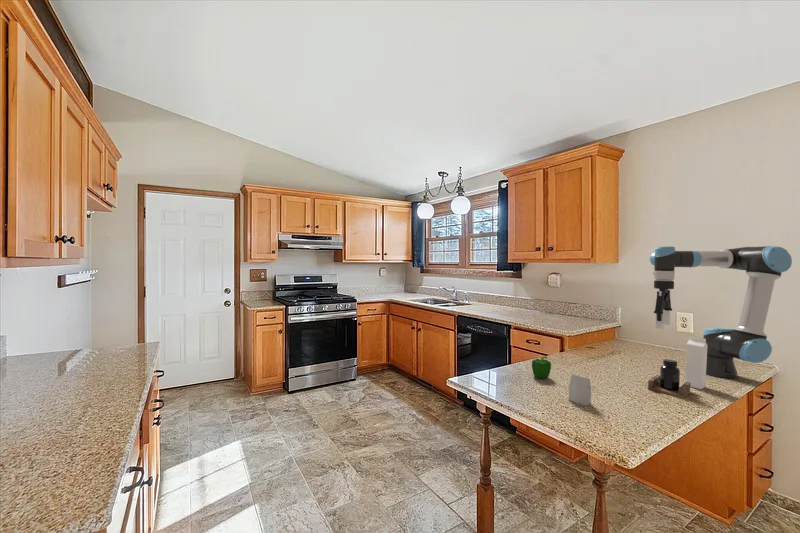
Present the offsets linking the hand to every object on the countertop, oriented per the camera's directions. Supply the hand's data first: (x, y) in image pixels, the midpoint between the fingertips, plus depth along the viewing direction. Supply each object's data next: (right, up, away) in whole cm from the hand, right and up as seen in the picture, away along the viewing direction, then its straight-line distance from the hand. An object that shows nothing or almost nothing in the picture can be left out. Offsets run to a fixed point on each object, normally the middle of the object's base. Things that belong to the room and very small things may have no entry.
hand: (662, 326), depth 168 cm
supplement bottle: (-5, -25, -11) cm, 28 cm away
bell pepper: (-55, -24, +2) cm, 60 cm away
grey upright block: (-51, -25, -26) cm, 63 cm away
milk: (+12, -27, -4) cm, 29 cm away
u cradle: (-5, -26, -11) cm, 29 cm away
